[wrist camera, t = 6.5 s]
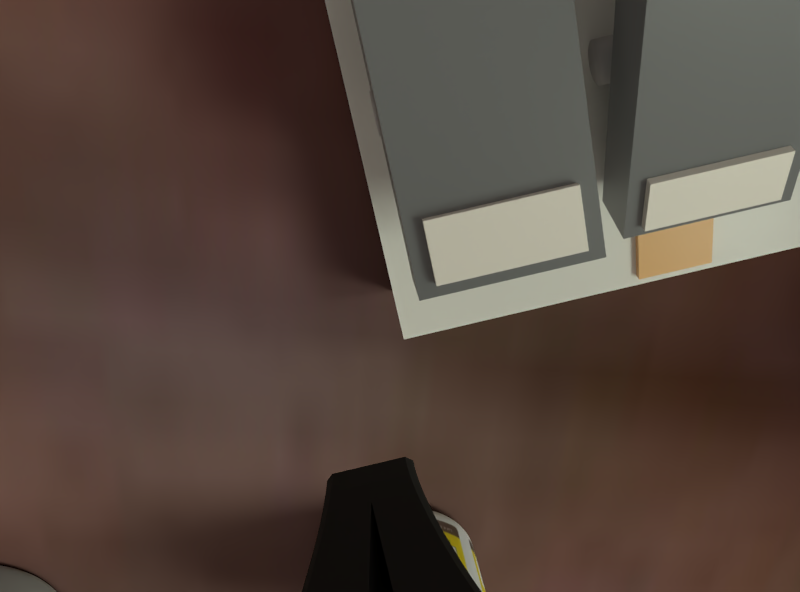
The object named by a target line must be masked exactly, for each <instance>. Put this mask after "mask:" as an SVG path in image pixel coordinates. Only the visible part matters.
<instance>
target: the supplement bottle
mask: <svg viewBox="0 0 800 592" xmlns="http://www.w3.org/2000/svg"><path fill="white" fill-rule="evenodd" d="M433 513H434V515H435V517H436V519H437V521H438V523H439V525H440V527H441V528H442V530H443V532H444V534H445V535H446V537H447V539H448V540H449V542H450V544H451V545H452V547H453V549H454V550H455V552H456V554H457V555H458V557H459V558H460V560H461V562H462V563H463V565H464V566H465V568H466V569H467V571H468V573H469V574H470V576H471V577H472V579H473V580H474V581H475V583H476V584H477V586H478V587H479V589H480V590H481V591H482V592H485V587H484V584H483V580H482V577H481V573H480V570H479V566H478V562H477V558H476V555H475V552H474V548H473V545H472V543H471V540H470V538H469V536H468V535H467V533H466V532H465V530H464V529H463V528H462V527H461V526H460V525H459V524H458V523H457V522H455V521H454V520H452V519H451V518H449V517H447V516H445V515H443V514H441V513H438V512H435V511H433Z"/></svg>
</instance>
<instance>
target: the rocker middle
mask: <svg viewBox="0 0 800 592" xmlns="http://www.w3.org/2000/svg"><path fill="white" fill-rule="evenodd" d="M799 171H800V0H616V1H615V16H614V31H613V46H612V61H611V76H610V92H609V107H608V122H607V137H606V152H605V167H604V182H603V197H602V201H603V203H604V205H605V207H606V208H607V210H608V212H609V214H610V216H611V217H612V219H613V221H614V223H615V225H616V226H617V228H618V230H619V232H620V234H621V235H622V237H623V239H626V238H630V237H634V236H639V235H643V234H647V233H652V232H656V231H660V230H664V229H669V228H673V227H677V226H682V225H686V224H690V223H694V222H699V221H703V220H707V219H712V218H716V217H720V216H724V215H729V214H733V213H737V212H742V211H746V210H750V209H754V208H759V207H763V206H767V205H772V204H776V203H780V202H784V201H789V200H791V197H792V193H793V190H794V187H795V184H796V181H797V177H798V174H799Z"/></svg>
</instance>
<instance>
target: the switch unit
mask: <svg viewBox="0 0 800 592" xmlns="http://www.w3.org/2000/svg"><path fill="white" fill-rule="evenodd" d="M615 1H616V0H574V5H575V12H576V20H577V28H578V36H579V44H580V52H581V60H582V68H583V76H584V84H585V92H586V100H587V108H588V116H589V124H590V131H591V139H592V147H593V155H594V163H595V171H596V179H597V187H598V195H599V203H600V211H601V219H602V227H603V235H604V243H605V250H606V257H605V258H601V259H597V260H593V261H588V262H584V263H580V264H575V265H571V266H567V267H563V268H558V269H554V270H550V271H545V272H541V273H537V274H533V275H528V276H524V277H520V278H515V279H511V280H507V281H503V282H498V283H494V284H490V285H486V286H481V287H477V288H473V289H468V290H464V291H460V292H456V293H451V294H447V295H443V296H438V297H434V298H430V299H426V300H421V301H419V298H418V295H417V292H416V288H415V285H414V282H413V279H412V274H411V270H410V265H409V261H408V256H407V252H406V247H405V243H404V238H403V234H402V229H401V225H400V220H399V216H398V211H397V207H396V202H395V198H394V193H393V189H392V184H391V180H390V175H389V171H388V166H387V162H386V157H385V153H384V148H383V144H382V139H381V135H380V130H379V126H378V121H377V117H376V112H375V108H374V103H373V99H372V94H371V90H370V85H369V81H368V76H367V72H366V68H365V63H364V59H363V54H362V50H361V45H360V41H359V36H358V32H357V27H356V23H355V18H354V14H353V9H352V5H351V0H325V4H326V8H327V13H328V17H329V21H330V25H331V30H332V34H333V38H334V42H335V47H336V51H337V55H338V60H339V64H340V68H341V72H342V77H343V81H344V85H345V90H346V94H347V98H348V102H349V107H350V111H351V115H352V119H353V124H354V128H355V132H356V137H357V141H358V145H359V149H360V154H361V158H362V162H363V167H364V171H365V175H366V179H367V184H368V188H369V192H370V197H371V201H372V205H373V209H374V214H375V218H376V222H377V226H378V231H379V235H380V239H381V244H382V248H383V252H384V256H385V261H386V265H387V269H388V274H389V278H390V282H391V286H392V291H393V295H394V299H395V303H396V308H397V312H398V316H399V321H400V325H401V329H402V333H403V338H404V339H408V338H412V337H417V336H421V335H425V334H429V333H434V332H438V331H442V330H446V329H451V328H455V327H459V326H464V325H468V324H472V323H476V322H481V321H485V320H489V319H493V318H498V317H502V316H506V315H511V314H515V313H519V312H523V311H528V310H532V309H536V308H540V307H545V306H549V305H553V304H558V303H562V302H566V301H570V300H575V299H579V298H583V297H587V296H592V295H596V294H600V293H605V292H609V291H613V290H617V289H622V288H626V287H630V286H634V285H639V284H643V283H647V282H652V281H656V280H660V279H664V278H669V277H673V276H677V275H681V274H686V273H690V272H694V271H699V270H703V269H707V268H711V267H716V266H720V265H724V264H728V263H733V262H737V261H741V260H746V259H750V258H754V257H758V256H763V255H767V254H771V253H775V252H780V251H784V250H788V249H793V248H797V247H800V171H799V174H798V177H797V181H796V184H795V187H794V190H793V193H792V197H791V200H789V201H784V202H780V203H776V204H772V205H767V206H763V207H759V208H754V209H750V210H746V211H742V212H737V213H733V214H729V215H724V216H720V217H716V218H712V219H707V220H703V221H699V222H694V223H690V224H686V225H682V226H677V227H673V228H669V229H664V230H660V231H656V232H652V233H647V234H643V235H639V236H634V237H630V238H626V239H623V237H622V235H621V234H620V232H619V230H618V228H617V226H616V225H615V223H614V221H613V219H612V217H611V216H610V214H609V212H608V210H607V208H606V207H605V205H604V203H603V201H602V197H603V182H604V167H605V152H606V137H607V122H608V107H609V92H610V76H611V61H612V46H613V31H614V16H615Z"/></svg>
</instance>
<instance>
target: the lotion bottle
mask: <svg viewBox="0 0 800 592" xmlns="http://www.w3.org/2000/svg"><path fill="white" fill-rule="evenodd" d="M0 592H56V591H55V589H53V588H52V587H51V586H50V585H49V584H47V583H46V582H45V581H43V580H41V579H40V578H38V577H36V576H34V575H32V574H29V573H27V572H24V571H21V570H18V569H14V568H11V567H6V566H0Z"/></svg>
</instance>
